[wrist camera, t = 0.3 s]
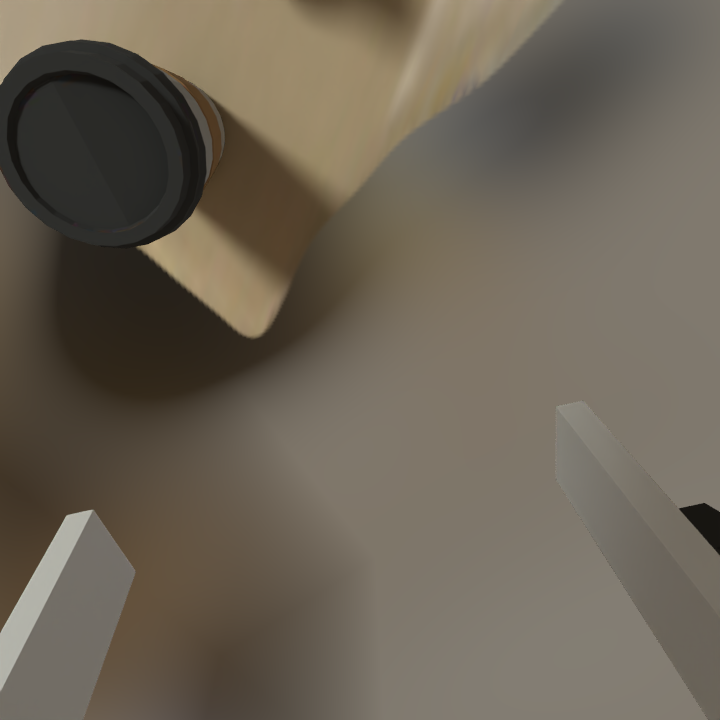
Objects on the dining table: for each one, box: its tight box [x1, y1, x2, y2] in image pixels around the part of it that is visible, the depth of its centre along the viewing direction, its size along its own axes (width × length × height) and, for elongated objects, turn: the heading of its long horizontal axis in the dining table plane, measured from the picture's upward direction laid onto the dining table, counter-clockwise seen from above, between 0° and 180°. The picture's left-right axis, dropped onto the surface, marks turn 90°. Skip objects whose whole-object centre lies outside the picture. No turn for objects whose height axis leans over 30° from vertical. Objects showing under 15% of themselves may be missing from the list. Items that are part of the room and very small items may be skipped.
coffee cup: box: [0, 40, 225, 248], centre depth 26 cm, size 8×8×15 cm
